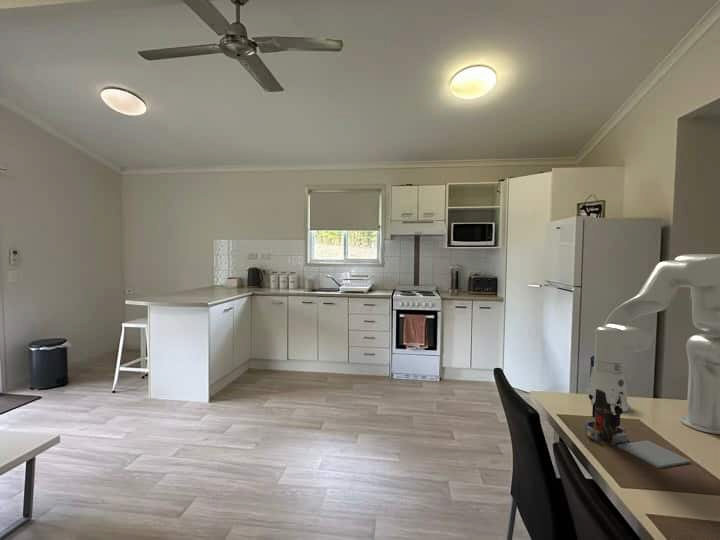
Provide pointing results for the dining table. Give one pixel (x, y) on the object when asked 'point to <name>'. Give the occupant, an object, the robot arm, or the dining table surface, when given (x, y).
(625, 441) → the collar
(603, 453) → the dining table surface
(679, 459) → the coaster
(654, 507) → the dining table surface
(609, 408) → the deodorant
